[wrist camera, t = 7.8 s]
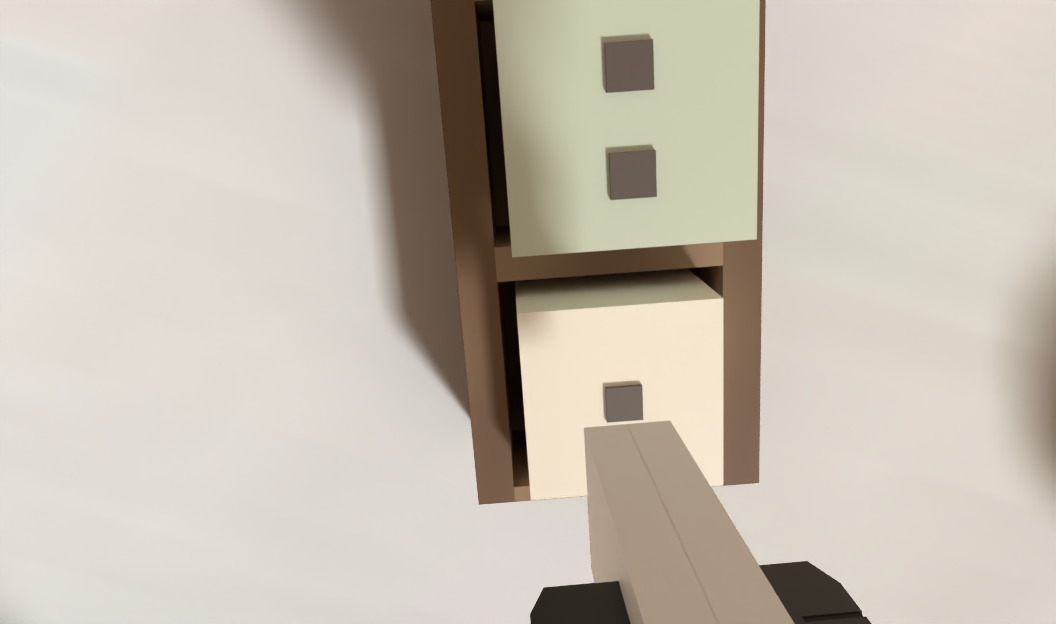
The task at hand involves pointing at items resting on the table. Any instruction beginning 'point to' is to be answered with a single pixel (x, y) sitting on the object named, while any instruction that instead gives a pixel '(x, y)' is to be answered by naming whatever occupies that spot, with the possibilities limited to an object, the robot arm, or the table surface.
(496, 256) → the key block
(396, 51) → the table surface
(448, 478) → the table surface
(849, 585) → the table surface
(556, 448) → the key one
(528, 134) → the key two
